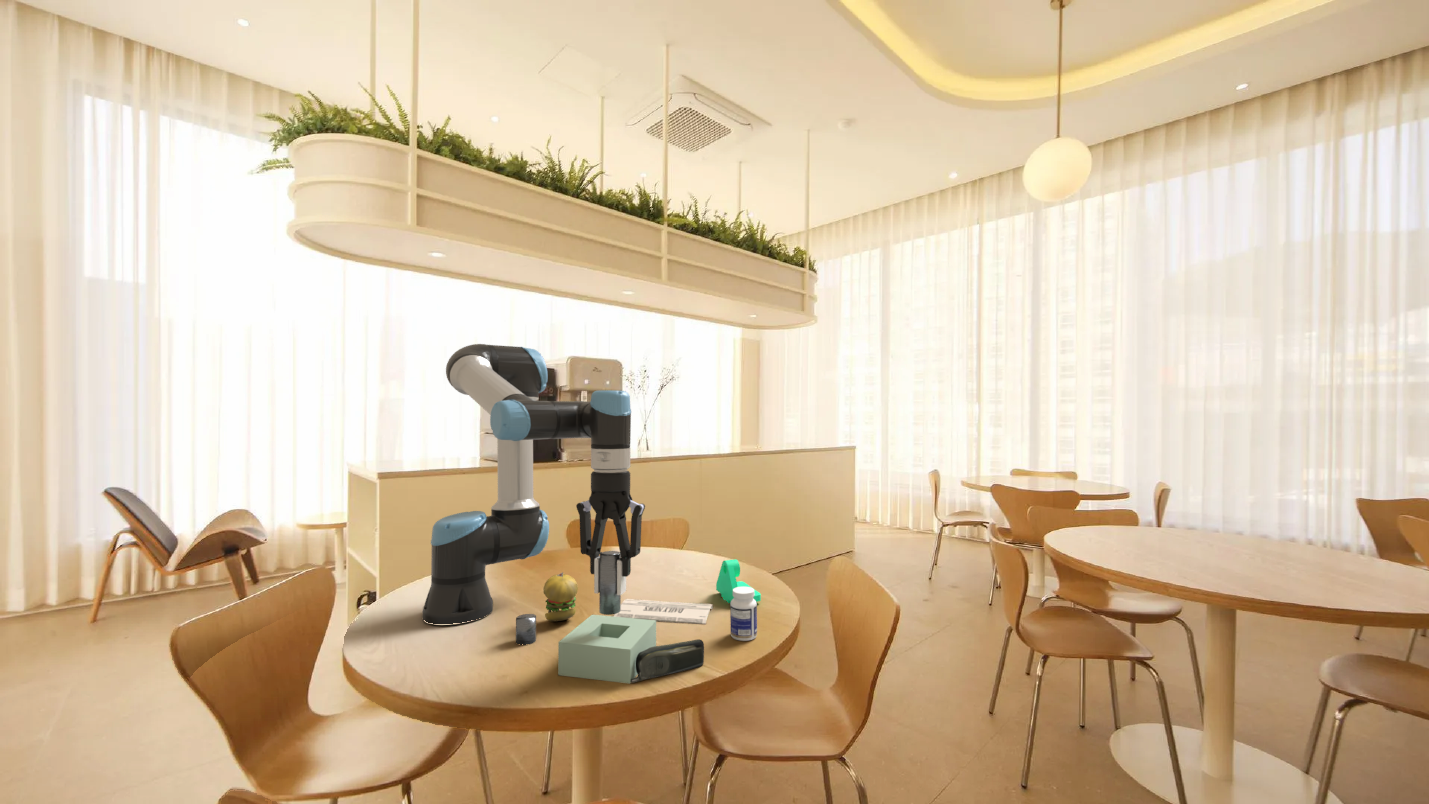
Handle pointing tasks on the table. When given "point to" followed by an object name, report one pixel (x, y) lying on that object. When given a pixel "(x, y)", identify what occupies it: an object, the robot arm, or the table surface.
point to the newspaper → (665, 611)
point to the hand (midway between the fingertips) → (610, 591)
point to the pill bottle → (743, 614)
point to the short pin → (526, 629)
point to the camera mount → (731, 580)
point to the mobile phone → (669, 659)
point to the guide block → (605, 648)
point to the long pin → (609, 583)
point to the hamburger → (560, 597)
